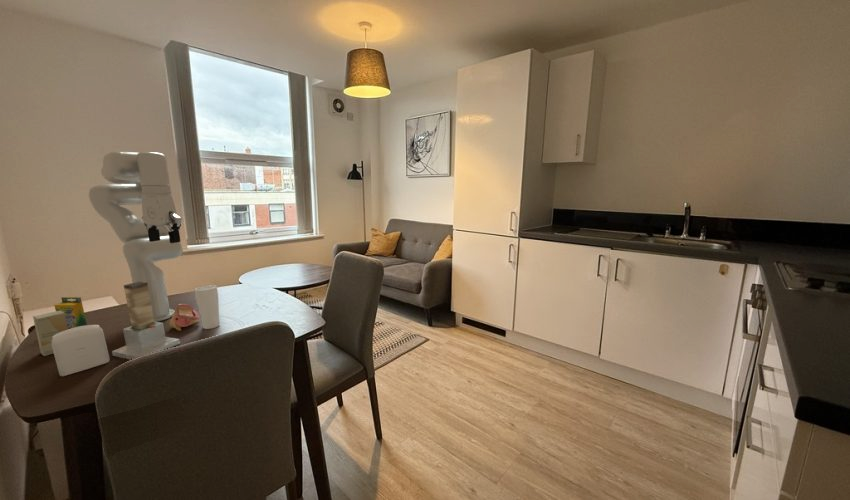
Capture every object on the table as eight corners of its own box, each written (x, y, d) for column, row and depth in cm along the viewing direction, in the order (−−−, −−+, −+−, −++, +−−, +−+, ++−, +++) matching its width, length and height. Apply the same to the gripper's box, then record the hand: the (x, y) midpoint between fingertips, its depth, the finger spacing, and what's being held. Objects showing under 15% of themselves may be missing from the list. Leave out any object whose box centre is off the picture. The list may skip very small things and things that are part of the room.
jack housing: (112, 355, 101) (107, 329, 100) (154, 338, 113) (150, 315, 111) (140, 361, 98) (134, 335, 96) (180, 343, 109) (176, 319, 107)
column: (131, 328, 102) (123, 285, 100) (146, 323, 106) (138, 281, 104) (140, 330, 101) (132, 286, 99) (155, 325, 105) (147, 282, 102)
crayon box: (59, 330, 120) (52, 300, 117) (68, 327, 122) (61, 297, 120) (79, 330, 119) (72, 299, 117) (88, 327, 122) (81, 297, 120)
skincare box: (43, 356, 101) (34, 319, 99) (40, 353, 103) (30, 316, 101) (73, 348, 107) (65, 312, 104) (69, 344, 109) (61, 309, 106)
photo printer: (59, 378, 90) (49, 336, 87) (58, 373, 92) (48, 331, 90) (111, 363, 97) (102, 323, 95) (108, 358, 100) (100, 319, 98)
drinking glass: (211, 331, 118) (205, 291, 115) (195, 329, 119) (189, 290, 116) (226, 323, 124) (221, 285, 121) (211, 322, 126) (205, 284, 123)
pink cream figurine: (163, 335, 117) (161, 311, 121) (191, 337, 125) (188, 314, 130) (182, 322, 115) (179, 298, 119) (208, 325, 124) (206, 303, 128)
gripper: (126, 191, 109) (135, 242, 112) (163, 191, 104) (171, 245, 107) (151, 190, 116) (158, 238, 119) (187, 190, 111) (194, 241, 114)
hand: (165, 241), depth 113 cm, fingers open, 9 cm apart
